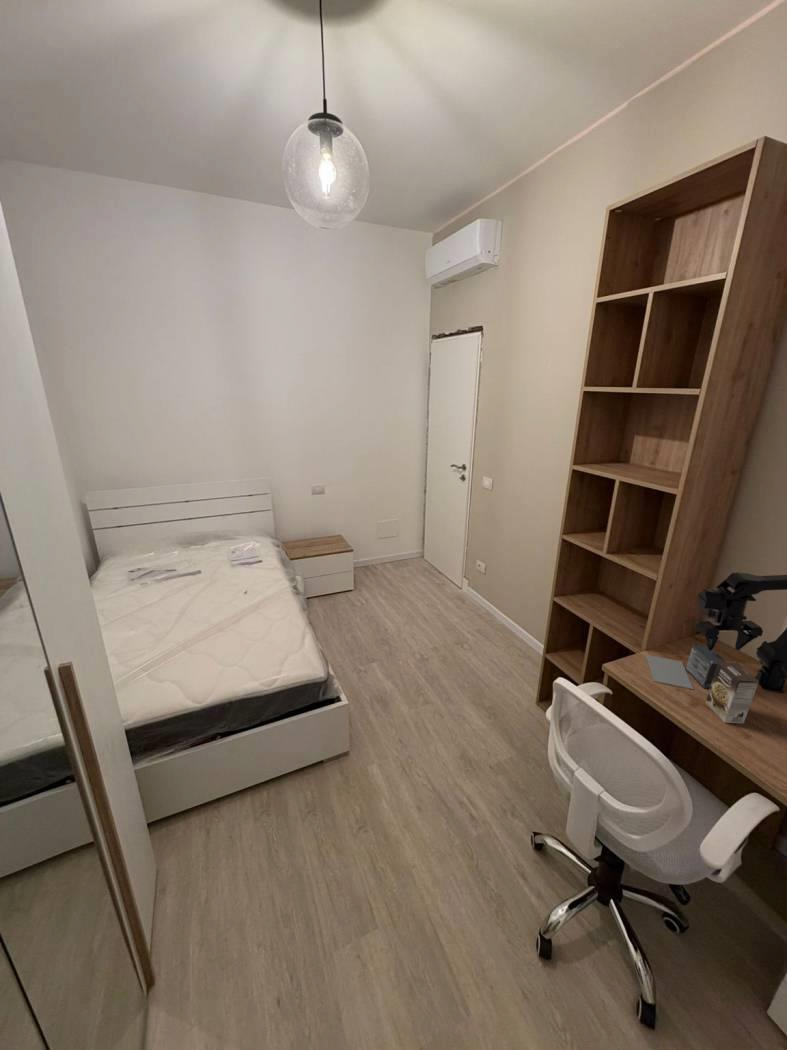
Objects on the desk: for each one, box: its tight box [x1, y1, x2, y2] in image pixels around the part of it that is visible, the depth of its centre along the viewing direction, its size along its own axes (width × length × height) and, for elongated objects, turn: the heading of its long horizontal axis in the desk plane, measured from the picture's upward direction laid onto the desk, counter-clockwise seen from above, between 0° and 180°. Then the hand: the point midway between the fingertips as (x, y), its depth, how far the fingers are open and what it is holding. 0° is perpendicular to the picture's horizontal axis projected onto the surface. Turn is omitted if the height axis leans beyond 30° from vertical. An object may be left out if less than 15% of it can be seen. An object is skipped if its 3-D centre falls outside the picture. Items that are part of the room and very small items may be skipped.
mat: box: [645, 654, 695, 691], centre depth 153 cm, size 12×16×1 cm
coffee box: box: [705, 661, 759, 724], centre depth 132 cm, size 9×6×16 cm
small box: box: [684, 645, 727, 689], centre depth 148 cm, size 11×6×10 cm, turn 178°
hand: (723, 649), depth 146 cm, fingers open, 9 cm apart
